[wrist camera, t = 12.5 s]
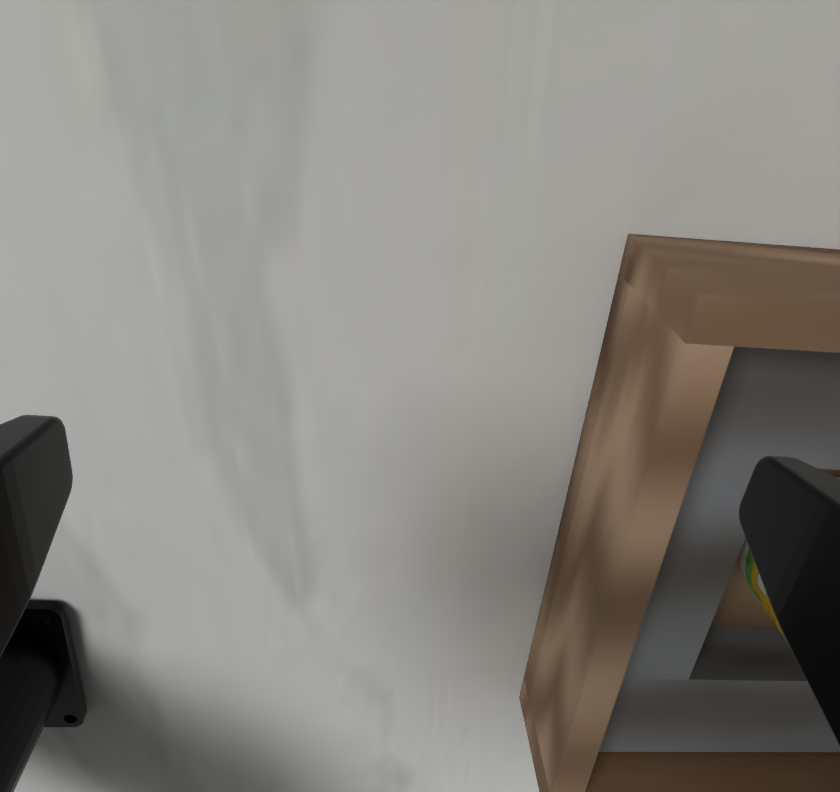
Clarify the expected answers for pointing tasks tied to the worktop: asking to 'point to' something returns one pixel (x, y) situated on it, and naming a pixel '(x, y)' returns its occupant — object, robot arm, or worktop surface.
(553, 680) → the tray
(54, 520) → the robot arm
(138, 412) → the worktop surface
